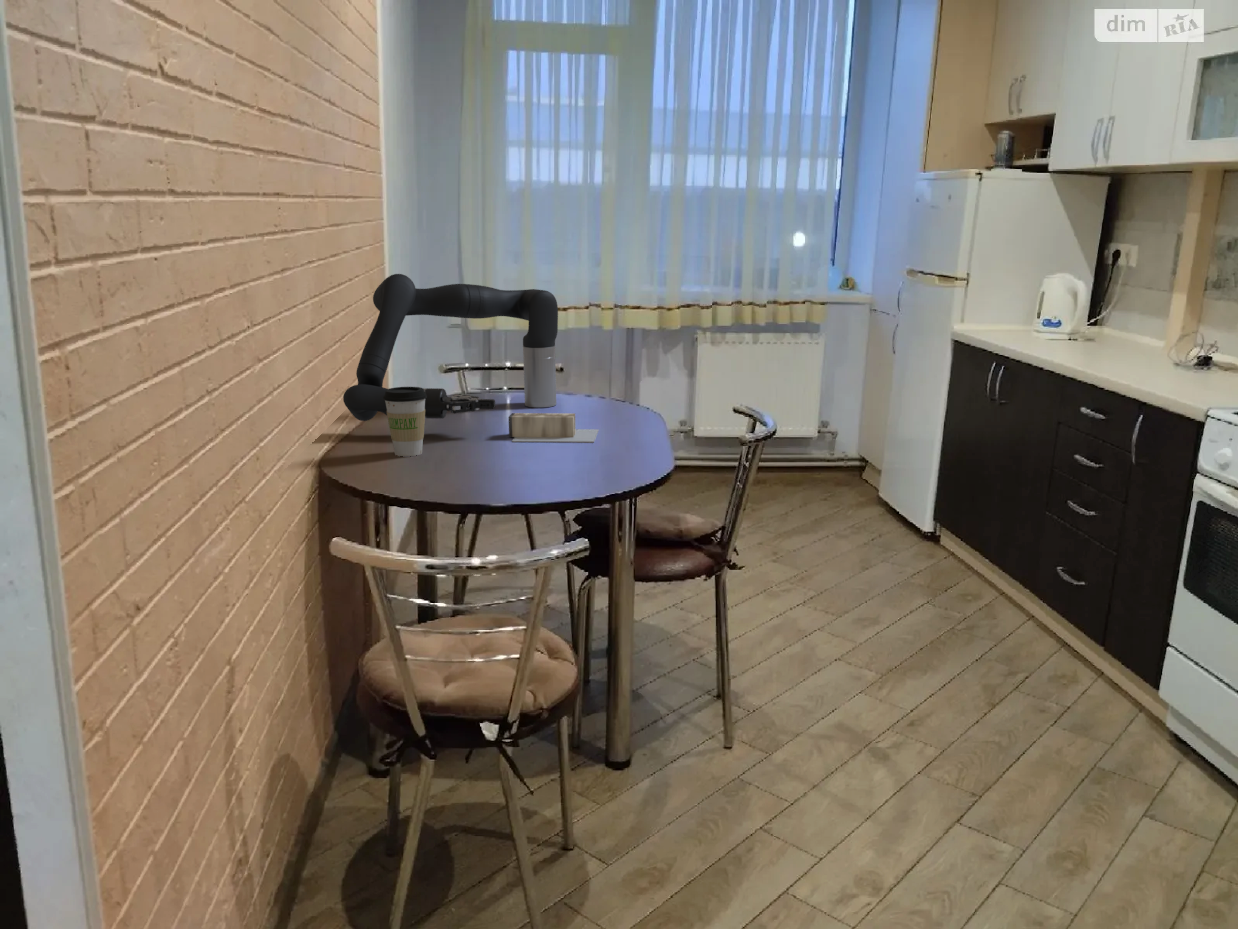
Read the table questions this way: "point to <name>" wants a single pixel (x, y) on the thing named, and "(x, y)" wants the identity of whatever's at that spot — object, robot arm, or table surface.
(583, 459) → the table surface
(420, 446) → the coffee cup
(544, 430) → the birch block
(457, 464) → the table surface
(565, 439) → the grey mat
